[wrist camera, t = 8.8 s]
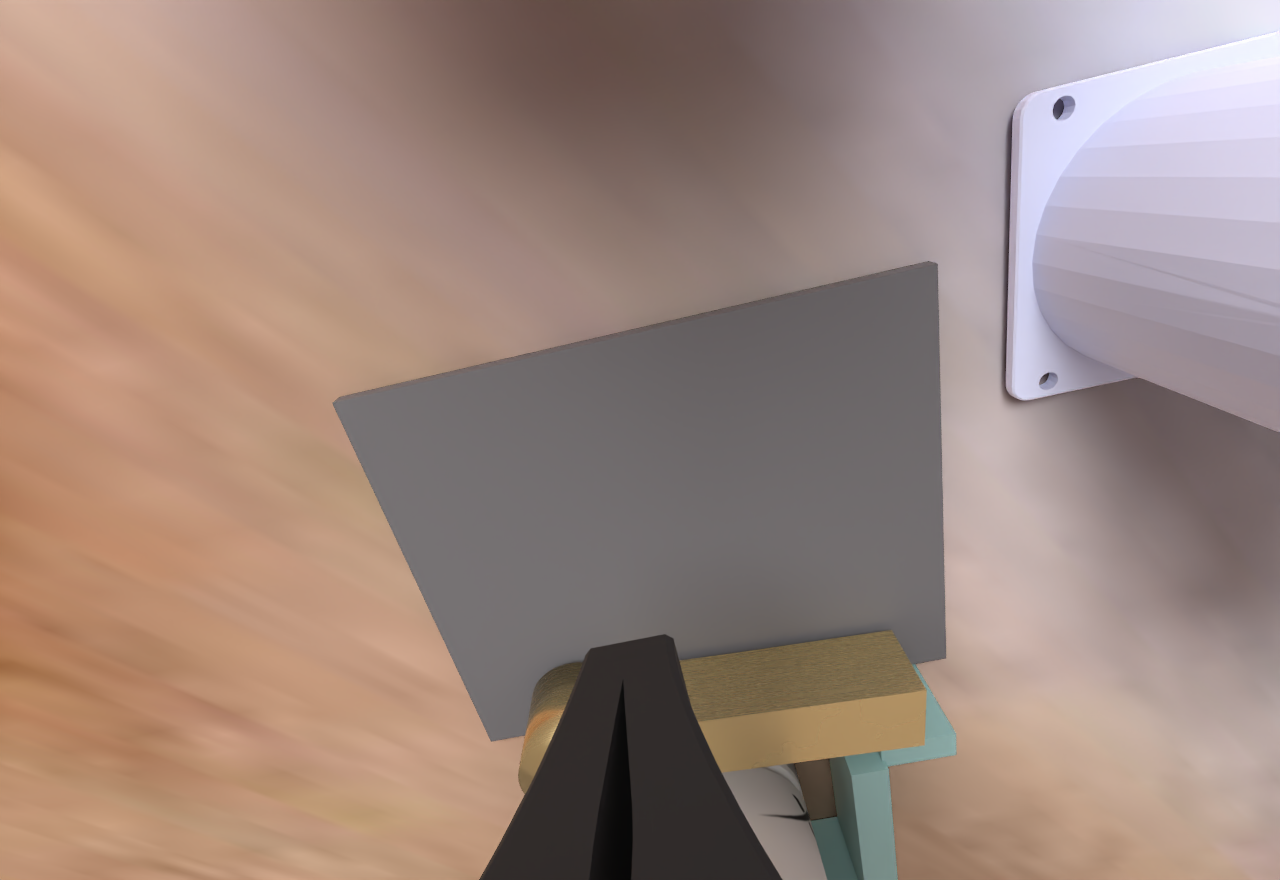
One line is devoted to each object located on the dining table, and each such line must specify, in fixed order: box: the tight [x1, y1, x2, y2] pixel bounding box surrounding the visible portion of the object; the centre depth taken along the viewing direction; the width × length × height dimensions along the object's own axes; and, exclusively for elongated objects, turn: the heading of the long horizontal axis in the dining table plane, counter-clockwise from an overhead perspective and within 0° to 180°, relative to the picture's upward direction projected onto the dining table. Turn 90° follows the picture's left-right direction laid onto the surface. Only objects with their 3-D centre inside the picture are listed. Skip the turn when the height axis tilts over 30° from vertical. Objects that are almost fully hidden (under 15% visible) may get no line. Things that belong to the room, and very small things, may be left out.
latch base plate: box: [333, 261, 946, 741], centre depth 19 cm, size 17×14×1 cm
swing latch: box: [518, 630, 927, 794], centre depth 20 cm, size 13×4×3 cm, turn 100°
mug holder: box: [811, 664, 956, 880], centre depth 23 cm, size 14×9×4 cm
